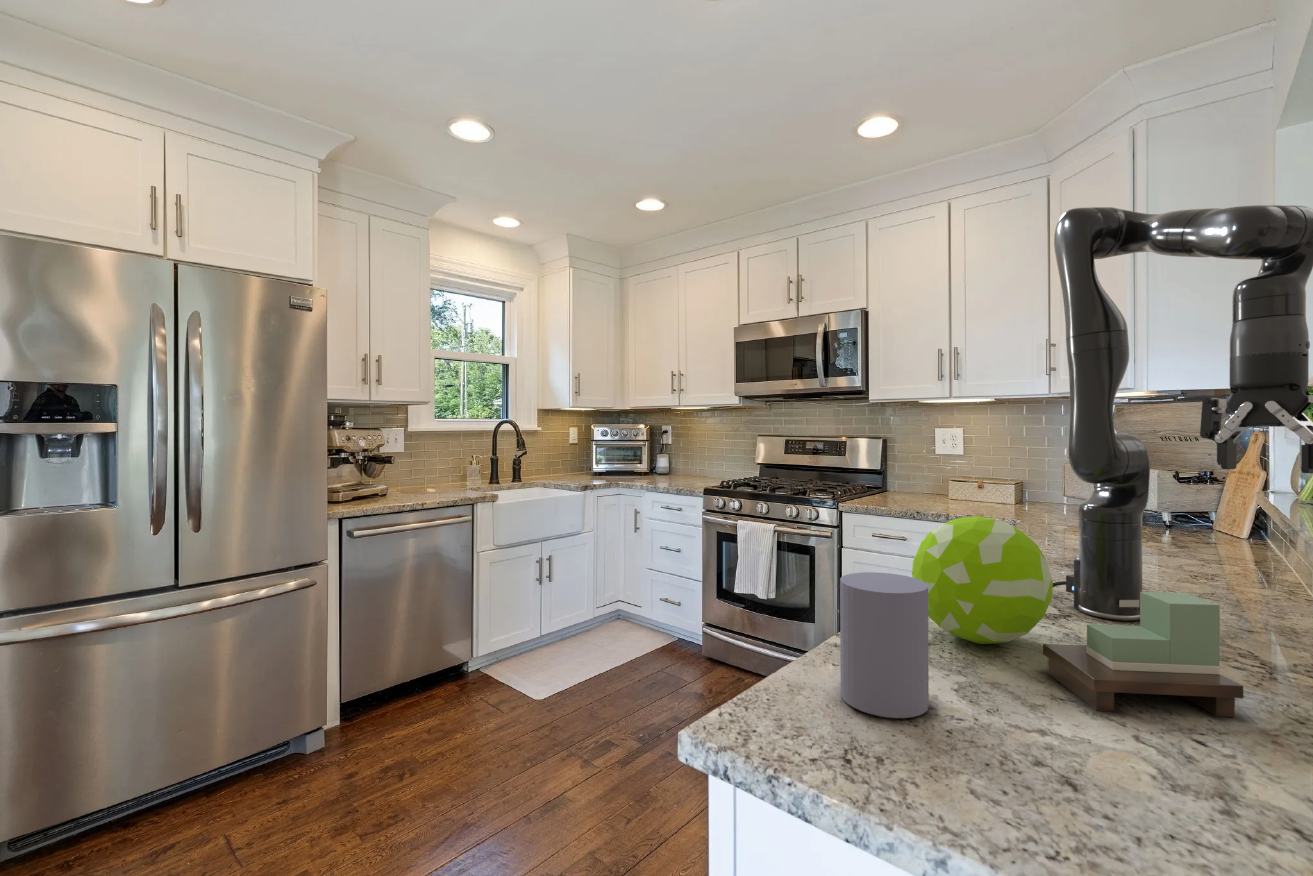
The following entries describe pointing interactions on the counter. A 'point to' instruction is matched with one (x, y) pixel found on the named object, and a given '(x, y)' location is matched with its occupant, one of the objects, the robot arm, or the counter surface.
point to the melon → (983, 579)
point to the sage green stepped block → (1162, 637)
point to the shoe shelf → (1136, 682)
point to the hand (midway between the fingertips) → (1267, 471)
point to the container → (884, 644)
